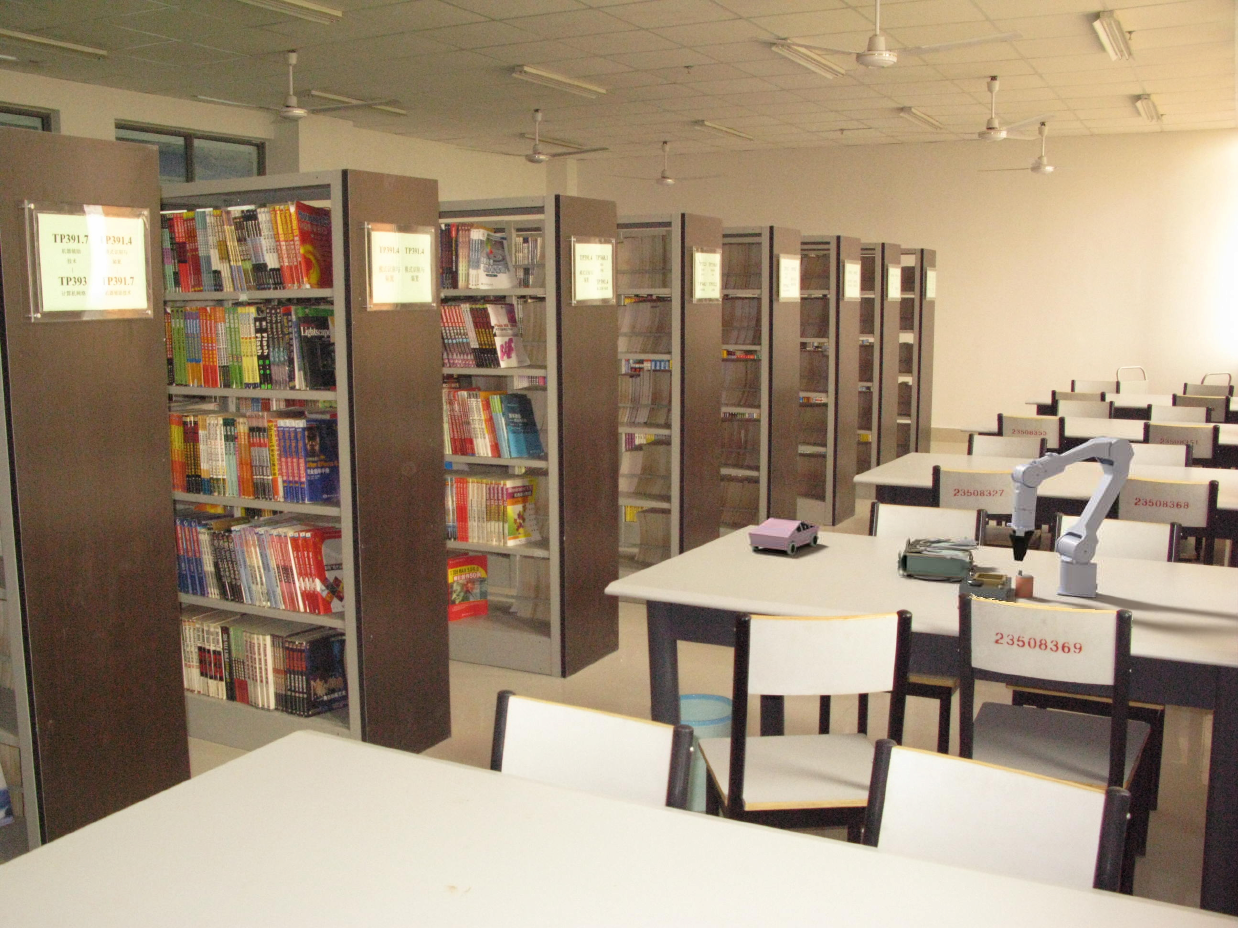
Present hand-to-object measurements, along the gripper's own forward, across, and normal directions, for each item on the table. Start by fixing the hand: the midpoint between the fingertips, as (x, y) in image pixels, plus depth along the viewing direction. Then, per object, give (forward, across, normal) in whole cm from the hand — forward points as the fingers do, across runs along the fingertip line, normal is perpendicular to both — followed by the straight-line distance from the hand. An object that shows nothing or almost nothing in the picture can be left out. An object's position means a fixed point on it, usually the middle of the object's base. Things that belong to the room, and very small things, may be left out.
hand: (1019, 558), depth 283 cm
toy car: (+13, -39, -76) cm, 87 cm away
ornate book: (+11, -23, -24) cm, 35 cm away
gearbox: (+11, -1, -8) cm, 13 cm away
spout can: (+10, 0, +2) cm, 10 cm away
